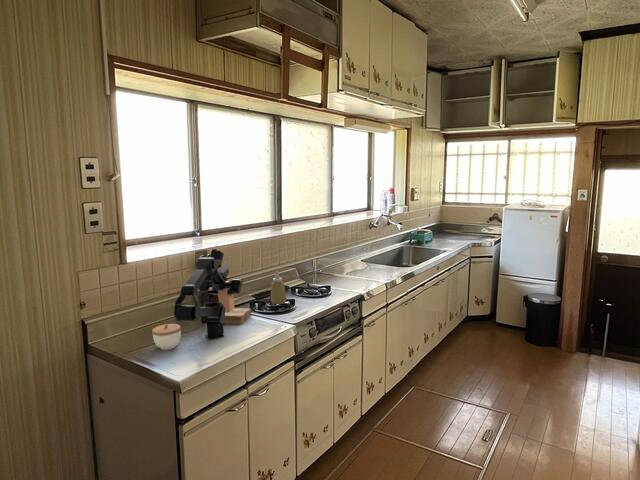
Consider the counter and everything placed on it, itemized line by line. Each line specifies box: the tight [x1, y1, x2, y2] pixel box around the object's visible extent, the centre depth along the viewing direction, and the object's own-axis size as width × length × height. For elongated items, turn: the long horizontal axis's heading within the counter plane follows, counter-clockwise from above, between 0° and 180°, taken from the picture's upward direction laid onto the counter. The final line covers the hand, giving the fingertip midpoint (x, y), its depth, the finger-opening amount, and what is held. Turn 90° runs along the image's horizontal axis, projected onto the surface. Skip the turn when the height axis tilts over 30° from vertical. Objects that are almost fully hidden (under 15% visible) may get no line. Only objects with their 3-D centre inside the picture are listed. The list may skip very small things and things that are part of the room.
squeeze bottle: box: [270, 271, 287, 305], centre depth 223 cm, size 8×8×18 cm
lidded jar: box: [151, 323, 182, 351], centre depth 174 cm, size 11×11×9 cm
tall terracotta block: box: [217, 280, 236, 312], centre depth 196 cm, size 5×5×13 cm
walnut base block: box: [216, 307, 252, 325], centre depth 205 cm, size 12×12×4 cm
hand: (227, 295), depth 197 cm, fingers closed on tall terracotta block, 5 cm apart
